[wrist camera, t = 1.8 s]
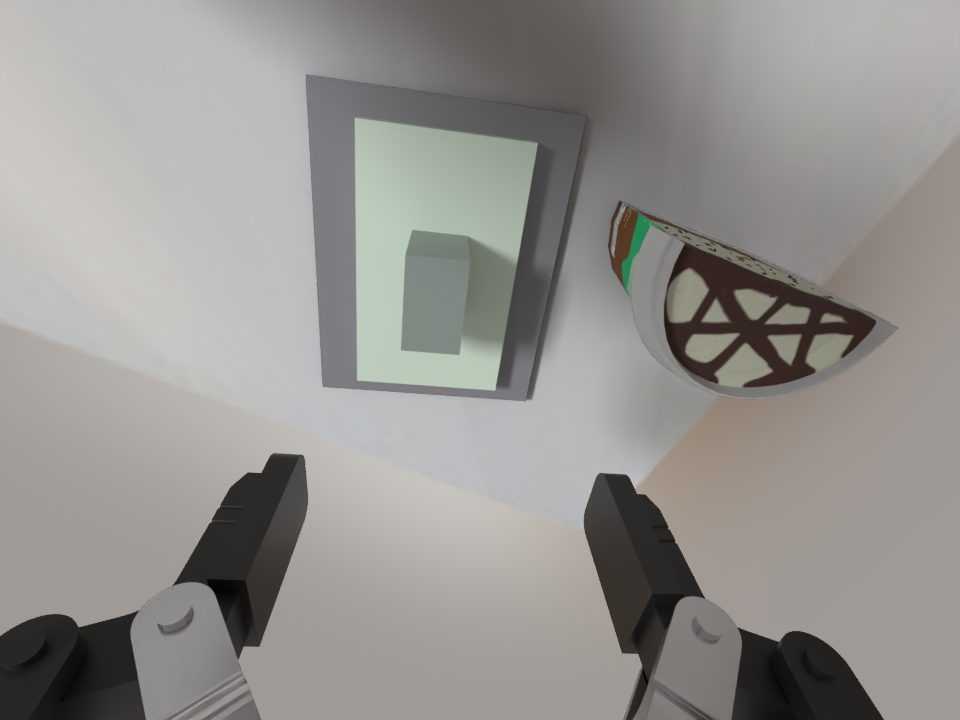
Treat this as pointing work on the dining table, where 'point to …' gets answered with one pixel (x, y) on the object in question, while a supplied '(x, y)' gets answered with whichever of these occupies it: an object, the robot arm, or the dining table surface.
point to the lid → (436, 251)
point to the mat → (336, 216)
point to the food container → (733, 312)
